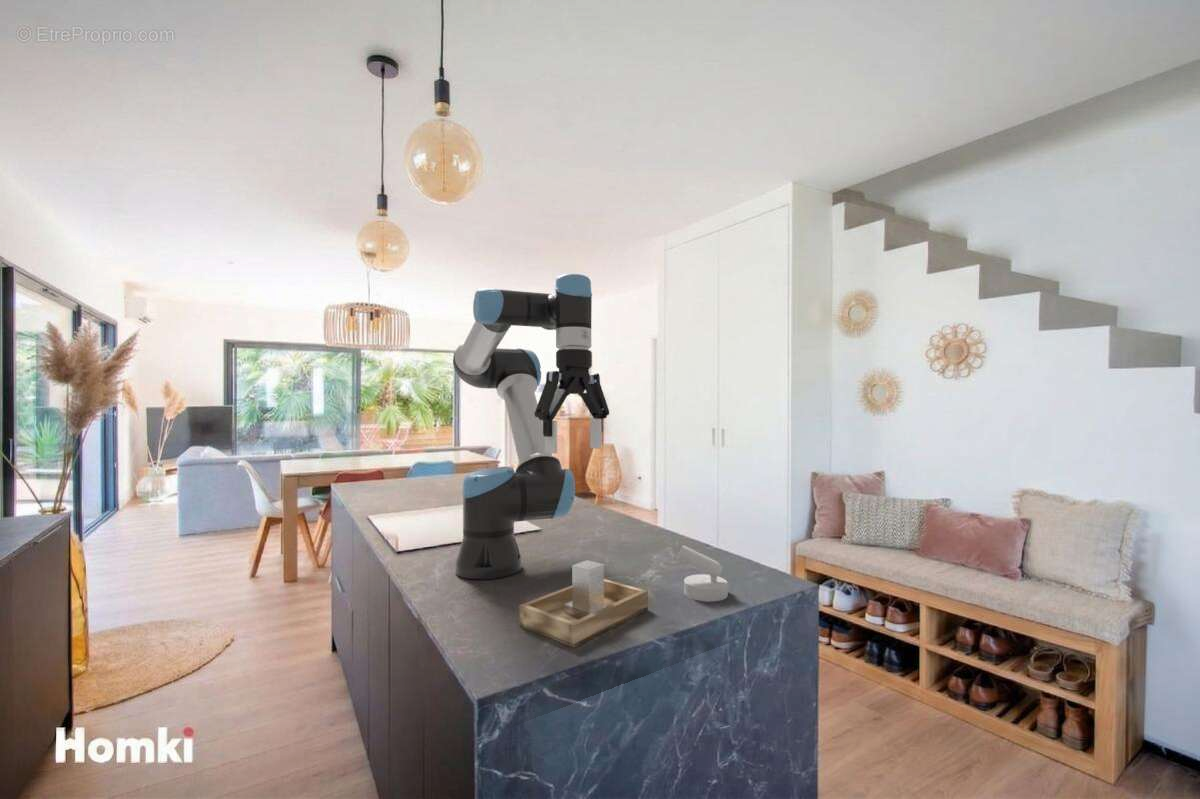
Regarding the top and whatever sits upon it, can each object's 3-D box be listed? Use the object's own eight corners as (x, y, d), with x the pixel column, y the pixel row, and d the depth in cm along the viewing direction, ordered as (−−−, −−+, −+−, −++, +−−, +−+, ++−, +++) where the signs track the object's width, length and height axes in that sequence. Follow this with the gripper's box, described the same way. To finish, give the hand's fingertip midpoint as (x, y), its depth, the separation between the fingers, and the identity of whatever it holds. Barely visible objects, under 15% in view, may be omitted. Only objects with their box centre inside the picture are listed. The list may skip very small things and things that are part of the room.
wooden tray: (519, 625, 91) (519, 605, 91) (595, 593, 106) (595, 576, 106) (573, 647, 83) (573, 625, 83) (647, 609, 98) (647, 590, 98)
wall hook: (677, 539, 111) (726, 541, 109) (678, 584, 111) (726, 587, 109) (675, 550, 103) (727, 553, 101) (675, 599, 103) (728, 603, 101)
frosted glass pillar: (564, 612, 95) (564, 563, 95) (579, 606, 98) (579, 558, 98) (597, 624, 90) (597, 572, 90) (612, 617, 93) (612, 566, 93)
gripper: (542, 343, 98) (543, 456, 98) (624, 352, 117) (625, 447, 117) (516, 346, 103) (516, 454, 103) (599, 354, 122) (599, 445, 122)
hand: (574, 450), depth 110 cm, fingers open, 13 cm apart
